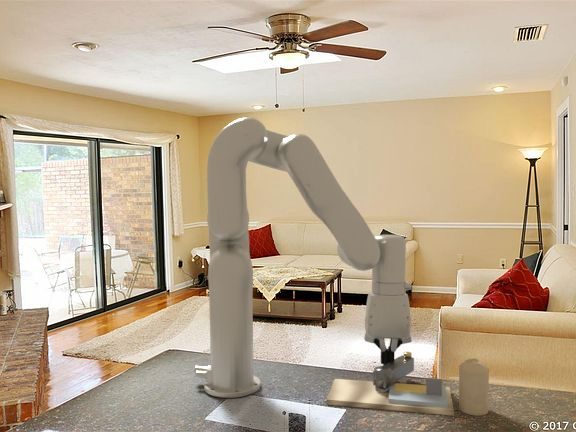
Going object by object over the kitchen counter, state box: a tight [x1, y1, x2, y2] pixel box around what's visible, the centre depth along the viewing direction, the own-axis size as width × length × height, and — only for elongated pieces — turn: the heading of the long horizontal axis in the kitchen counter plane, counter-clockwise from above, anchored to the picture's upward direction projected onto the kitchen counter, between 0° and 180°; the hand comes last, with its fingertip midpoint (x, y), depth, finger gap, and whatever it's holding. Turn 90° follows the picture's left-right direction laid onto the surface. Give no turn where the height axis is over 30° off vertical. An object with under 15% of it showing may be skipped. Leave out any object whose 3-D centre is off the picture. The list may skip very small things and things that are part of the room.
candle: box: [458, 358, 490, 417], centre depth 102 cm, size 6×6×10 cm
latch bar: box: [372, 351, 415, 388], centre depth 114 cm, size 14×4×4 cm, turn 141°
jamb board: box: [325, 378, 455, 416], centre depth 108 cm, size 25×12×1 cm, turn 76°
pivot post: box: [375, 386, 390, 393], centre depth 110 cm, size 3×3×2 cm
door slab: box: [389, 377, 448, 408], centre depth 106 cm, size 12×9×4 cm
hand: (387, 366), depth 119 cm, fingers closed
